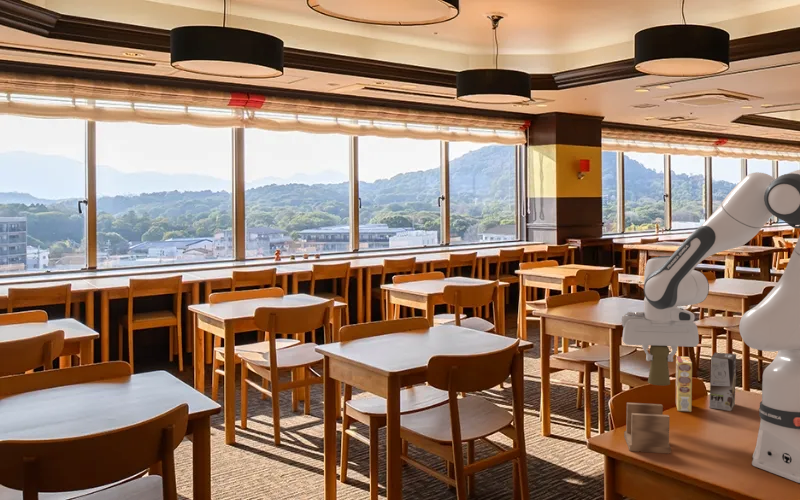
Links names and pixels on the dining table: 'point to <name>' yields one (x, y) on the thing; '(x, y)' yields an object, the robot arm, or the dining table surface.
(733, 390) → the coffee box
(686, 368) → the candy box
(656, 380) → the cork
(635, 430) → the caddy
